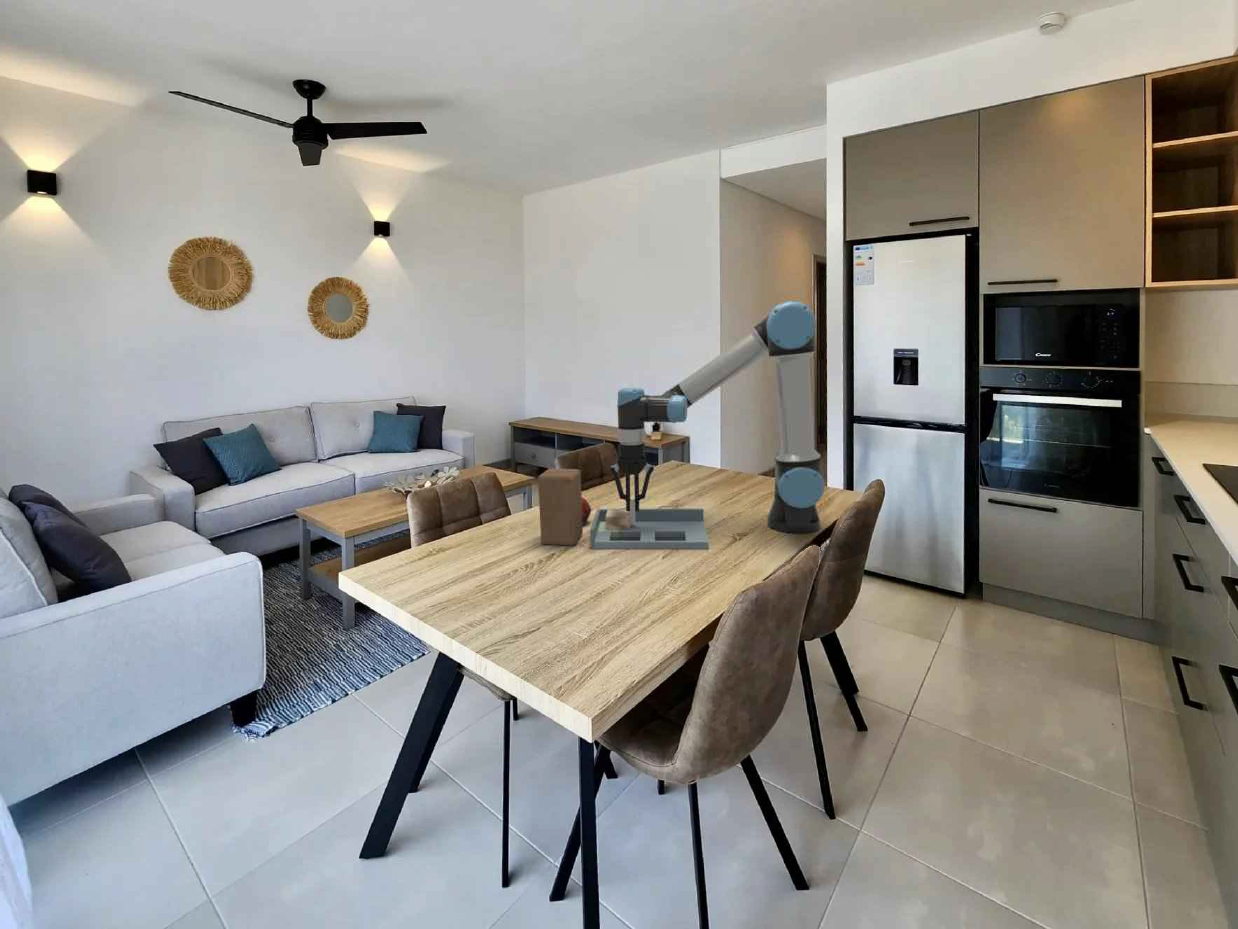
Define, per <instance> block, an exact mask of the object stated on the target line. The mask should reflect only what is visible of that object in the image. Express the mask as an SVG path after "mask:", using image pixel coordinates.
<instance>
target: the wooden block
mask: <svg viewBox="0 0 1238 929" xmlns="http://www.w3.org/2000/svg"><path fill="white" fill-rule="evenodd" d="M581 474H582V473H581V470H580V469H578V468H577V469H576V468H548V469H546V470H545V471H543V472H542V473H541V474H540V475H538V477H537V486H538V504H539V506H538V507H539V522H540V523H539V525H540V540H541V542H540V543H541V544H543V545H556V546H560V545H561V546H575V545H576V543H577V542H578V541H579V539H580V538H581V537H582V536H583V533H584V531H583V527H584V526H583V523H582V498H583V497H582V477H581V476H582V475H581ZM581 497H582V498H581Z"/></svg>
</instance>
